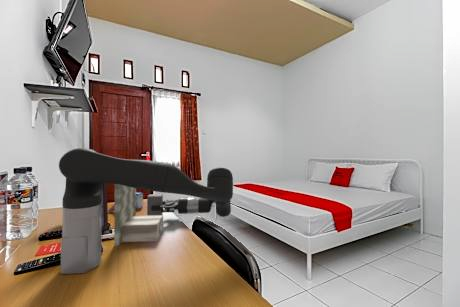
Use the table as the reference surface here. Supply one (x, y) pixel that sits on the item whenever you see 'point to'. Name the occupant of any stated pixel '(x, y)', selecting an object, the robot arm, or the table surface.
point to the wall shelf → (133, 219)
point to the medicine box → (139, 200)
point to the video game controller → (112, 209)
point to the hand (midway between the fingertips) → (153, 205)
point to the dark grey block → (154, 203)
